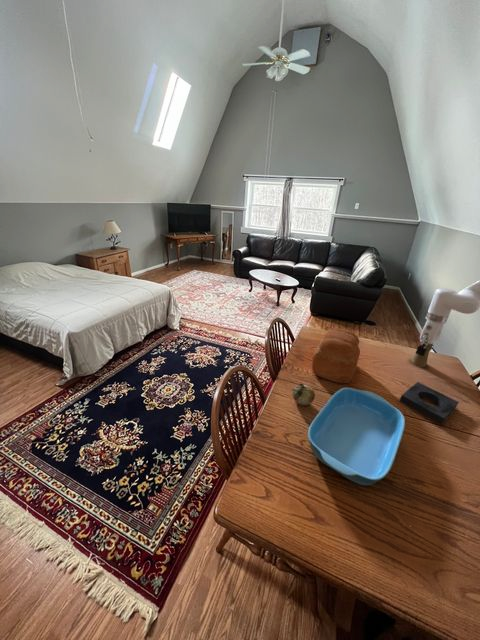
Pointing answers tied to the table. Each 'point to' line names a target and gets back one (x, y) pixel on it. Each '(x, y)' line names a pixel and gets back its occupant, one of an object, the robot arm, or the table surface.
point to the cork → (422, 357)
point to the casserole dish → (357, 435)
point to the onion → (303, 394)
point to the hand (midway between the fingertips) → (422, 351)
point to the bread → (336, 356)
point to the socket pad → (433, 412)
